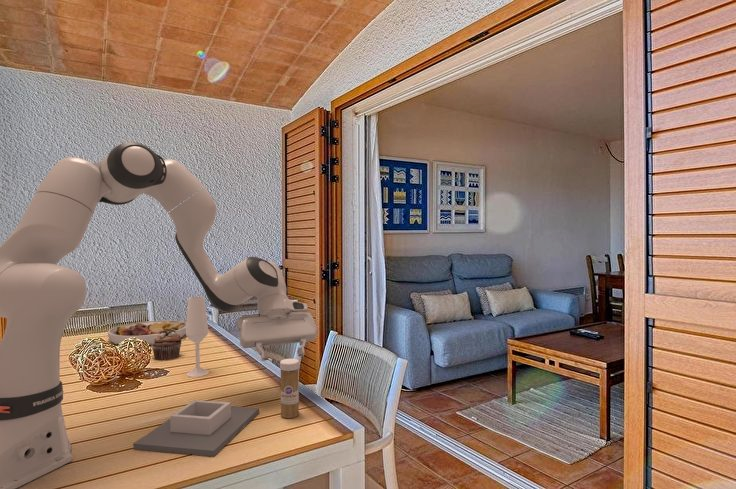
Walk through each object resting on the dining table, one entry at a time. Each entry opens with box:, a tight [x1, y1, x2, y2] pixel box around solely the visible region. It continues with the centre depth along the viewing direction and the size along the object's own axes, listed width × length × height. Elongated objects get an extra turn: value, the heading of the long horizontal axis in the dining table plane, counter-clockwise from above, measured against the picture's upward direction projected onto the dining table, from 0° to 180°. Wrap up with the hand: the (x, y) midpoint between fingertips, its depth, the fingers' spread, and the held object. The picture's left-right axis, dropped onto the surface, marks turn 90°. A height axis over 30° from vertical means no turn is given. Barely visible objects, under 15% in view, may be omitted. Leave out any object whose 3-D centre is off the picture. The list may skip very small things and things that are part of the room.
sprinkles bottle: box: [279, 358, 300, 419], centre depth 111 cm, size 5×5×13 cm
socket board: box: [132, 399, 260, 458], centre depth 103 cm, size 22×18×5 cm
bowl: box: [107, 320, 187, 346], centre depth 190 cm, size 30×30×8 cm
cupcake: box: [151, 329, 182, 361], centre depth 162 cm, size 10×10×10 cm
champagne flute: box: [185, 296, 210, 378], centre depth 144 cm, size 7×7×24 cm
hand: (283, 357), depth 117 cm, fingers open, 8 cm apart
